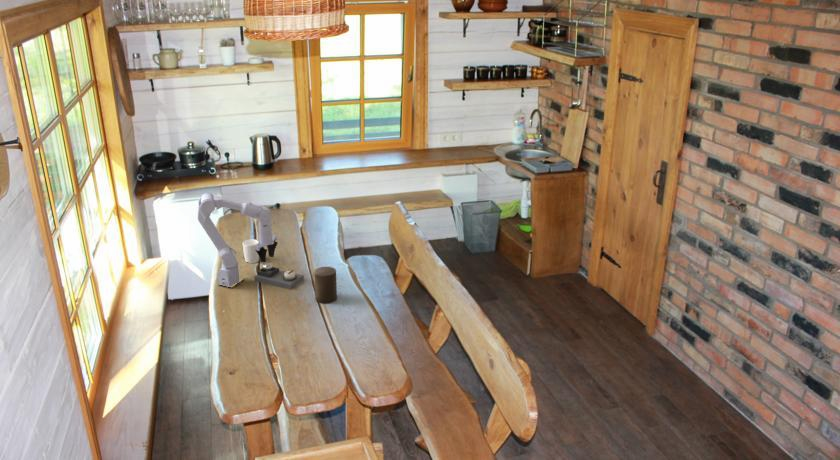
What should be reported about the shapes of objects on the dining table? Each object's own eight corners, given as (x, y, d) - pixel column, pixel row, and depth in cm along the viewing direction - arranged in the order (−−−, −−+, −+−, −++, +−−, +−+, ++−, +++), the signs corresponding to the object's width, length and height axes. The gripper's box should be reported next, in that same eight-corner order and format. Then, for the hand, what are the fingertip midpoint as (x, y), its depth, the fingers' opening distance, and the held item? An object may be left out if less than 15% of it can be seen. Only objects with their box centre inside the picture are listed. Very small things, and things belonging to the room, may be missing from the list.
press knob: (269, 271, 331) (268, 267, 330) (261, 269, 332) (261, 265, 332) (274, 267, 335) (274, 263, 334) (266, 266, 336) (266, 262, 335)
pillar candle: (333, 304, 312) (332, 273, 307) (312, 302, 314) (310, 271, 308) (339, 295, 321) (339, 264, 315) (319, 292, 323) (318, 262, 317)
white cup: (262, 258, 357) (260, 239, 353) (257, 264, 349) (255, 245, 346) (246, 257, 357) (245, 238, 354) (241, 263, 350) (240, 245, 346)
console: (290, 289, 325) (290, 280, 323) (254, 281, 332) (254, 272, 330) (303, 280, 334) (303, 271, 332) (268, 272, 342) (267, 263, 340)
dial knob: (291, 280, 327) (291, 275, 326) (282, 278, 329) (281, 273, 328) (297, 275, 331) (297, 271, 330) (288, 273, 333) (288, 269, 332)
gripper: (263, 239, 319) (265, 266, 324) (281, 228, 331) (283, 255, 336) (250, 236, 322) (252, 263, 327) (269, 226, 334) (270, 252, 339)
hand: (267, 259), depth 332 cm, fingers open, 6 cm apart
